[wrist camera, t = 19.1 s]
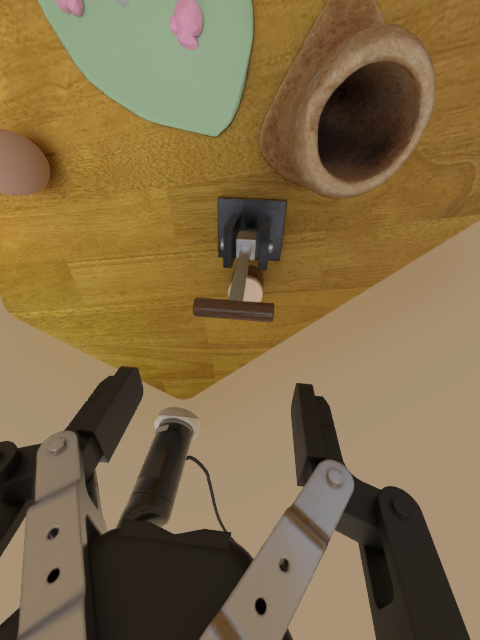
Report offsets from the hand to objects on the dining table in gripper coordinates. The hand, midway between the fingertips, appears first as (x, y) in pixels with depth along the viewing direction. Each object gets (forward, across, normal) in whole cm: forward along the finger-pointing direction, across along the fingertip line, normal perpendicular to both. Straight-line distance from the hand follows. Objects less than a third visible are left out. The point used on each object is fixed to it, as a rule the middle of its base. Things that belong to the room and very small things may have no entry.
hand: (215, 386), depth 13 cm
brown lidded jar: (+29, 0, +7) cm, 29 cm away
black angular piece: (+29, 0, -1) cm, 29 cm away
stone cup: (+29, -8, -14) cm, 33 cm away
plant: (+29, +11, -23) cm, 39 cm away
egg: (+29, +29, -8) cm, 42 cm away
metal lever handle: (+15, 0, +1) cm, 15 cm away
